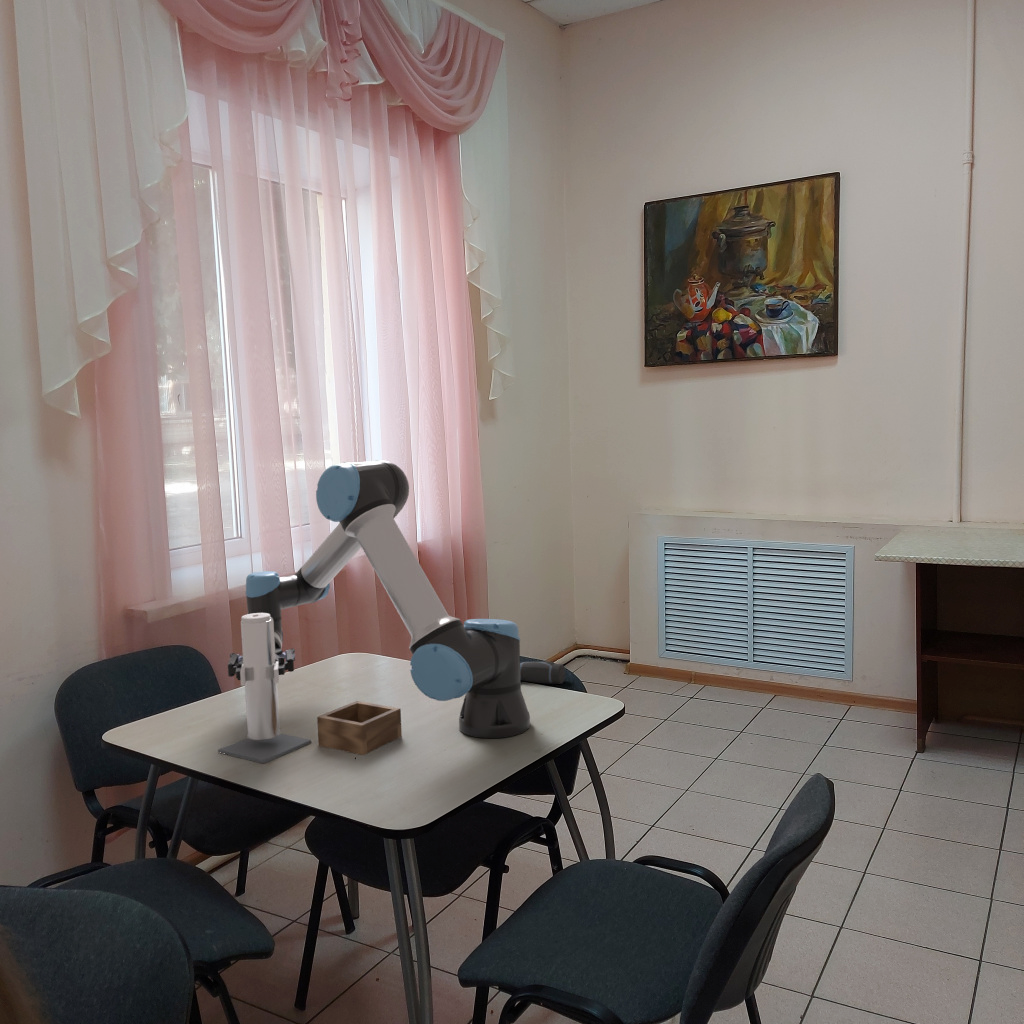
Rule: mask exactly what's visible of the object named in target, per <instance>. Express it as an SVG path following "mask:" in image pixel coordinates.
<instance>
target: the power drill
mask: <svg viewBox="0 0 1024 1024" xmlns="http://www.w3.org/2000/svg"><path fill="white" fill-rule="evenodd" d="M565 678H566V667H565V666H564V664H562V663H555V662H551V661H550V662H549V661H523V662H520V681H521V682H522V681H524V682H528V683H529V682H530V683H536V684H548V685H550V684H551V685H561V684H563V683H564V681H565Z"/></svg>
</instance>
